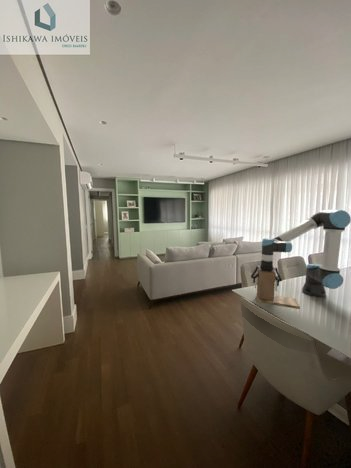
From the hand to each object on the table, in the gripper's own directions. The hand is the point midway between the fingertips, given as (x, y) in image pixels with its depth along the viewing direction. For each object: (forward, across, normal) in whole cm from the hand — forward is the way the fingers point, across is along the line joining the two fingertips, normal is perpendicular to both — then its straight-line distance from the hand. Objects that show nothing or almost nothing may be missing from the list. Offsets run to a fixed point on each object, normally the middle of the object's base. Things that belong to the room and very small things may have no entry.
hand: (265, 288), depth 140 cm
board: (+8, -8, 0) cm, 11 cm away
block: (+7, 0, 0) cm, 7 cm away
